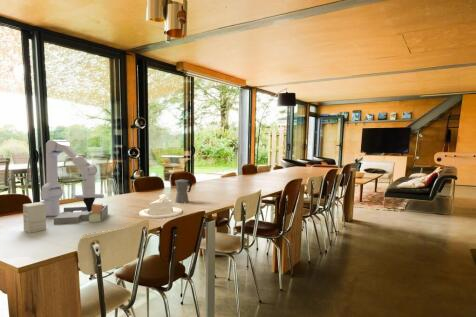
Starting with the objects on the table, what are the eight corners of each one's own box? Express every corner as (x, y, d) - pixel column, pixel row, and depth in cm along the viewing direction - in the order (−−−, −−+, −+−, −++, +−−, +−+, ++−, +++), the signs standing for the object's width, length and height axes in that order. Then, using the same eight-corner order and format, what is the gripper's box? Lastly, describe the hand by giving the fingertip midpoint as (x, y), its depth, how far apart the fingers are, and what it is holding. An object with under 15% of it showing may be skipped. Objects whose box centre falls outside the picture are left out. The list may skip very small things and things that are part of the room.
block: (91, 213, 156) (91, 205, 156) (93, 211, 161) (93, 203, 160) (100, 213, 158) (100, 205, 157) (102, 211, 162) (102, 203, 162)
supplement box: (41, 226, 142) (40, 201, 141) (46, 229, 137) (45, 203, 137) (23, 230, 136) (22, 204, 136) (28, 233, 132) (27, 206, 131)
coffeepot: (170, 202, 203) (170, 176, 202) (179, 199, 211) (178, 175, 210) (187, 204, 196) (187, 178, 195) (196, 201, 204) (195, 176, 203)
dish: (161, 207, 189) (161, 190, 188) (190, 211, 176) (190, 193, 175) (129, 214, 167) (129, 195, 167) (160, 221, 155) (160, 200, 154)
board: (53, 224, 147) (53, 213, 147) (64, 216, 162) (64, 206, 162) (102, 221, 153) (101, 211, 152) (107, 214, 168) (107, 204, 168)
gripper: (72, 188, 152) (72, 213, 152) (101, 187, 155) (102, 212, 156) (76, 186, 159) (76, 210, 159) (104, 185, 162) (104, 209, 163)
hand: (89, 211), depth 158 cm, fingers closed
